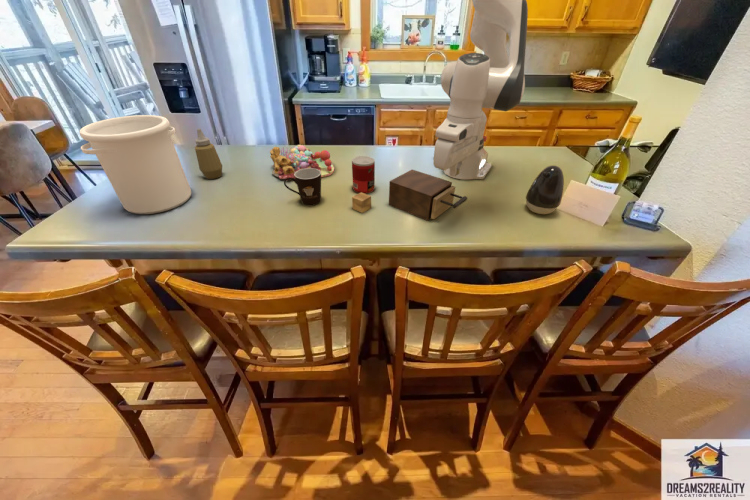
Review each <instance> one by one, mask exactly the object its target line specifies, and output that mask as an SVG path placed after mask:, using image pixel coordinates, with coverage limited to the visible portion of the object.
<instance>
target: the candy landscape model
mask: <svg viewBox="0 0 750 500" xmlns="http://www.w3.org/2000/svg"><path fill="white" fill-rule="evenodd" d="M288 151H289V152H288ZM269 153H270V159H271V160H272V162H273V165H271V167H272V168H273V170H272V172H271V174H272V175H273V176H274V177H277V178H279V180H285V179H286V178H294V179H295V176H294V173H295V172H296V171H298V170H301V169H305V168H314V169H318V170H320V171H321V178H325V177H329V176H331V175H333V174H334V172H335V166H334V164H333V161H332V160H331V153H330V152H329V151H328V150H326V149H323V150H321V151H315V152H313V151H311V149H310V148H308V147H306V146H305V145H304V144H302V145H301V144H297V145H296V146H293V147H291V146H290V147H289V150H288V148H286V150H285V148H284V147H282V148H280V147H278V146H273V148H271V149H270V151H269ZM313 153H314V154H313ZM290 180H291V179H289V180H287V181H286V182H289V181H290Z"/></svg>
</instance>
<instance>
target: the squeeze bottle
mask: <svg viewBox="0 0 750 500" xmlns="http://www.w3.org/2000/svg"><path fill="white" fill-rule="evenodd" d="M196 132H197V133H196V134H197V138H195V141H194V142H195V144H196V146H195V147H194V150H195V155H196V160H197V163H198V168H199V170H200V172H201V173H202V175H203V177H205V178H206V179H207V180H208V179H210V180H214V179H219V178H220V177H222V175H223V164H222V161H221V159H220V157H219V154H218V152H217V149H216V147H215V145H214V144H213V143H212V142H211V141H210V138H209V137H206V136H205V134H204V132H203V131H202V129H201V128H196Z"/></svg>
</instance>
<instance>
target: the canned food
mask: <svg viewBox="0 0 750 500" xmlns="http://www.w3.org/2000/svg"><path fill="white" fill-rule="evenodd" d="M375 163H376V162H375V159H374V158H373V157H371V156H365V155H364V156H363V155H360V156H356V157H353V158H352V159H351V174H352V175H351V176H352V189H353V191H354V192H355V193H357V194H359V193H361V192H362V193H364V194H370V193H372V192H374V190H375V184H376V183H375V179H376V177H375V175H376V174H375V173H376V172H375V171H376V167H375Z"/></svg>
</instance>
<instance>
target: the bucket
mask: <svg viewBox="0 0 750 500" xmlns="http://www.w3.org/2000/svg"><path fill="white" fill-rule="evenodd" d="M176 133H177V131H176V128H175V127H174V126H171V123H170V121H169V120H168V118H166V117H165V116H162V115H154V114H139V115H138V114H137V115H125V116H118V117H112V118H111V117H110V118H107V119H102V120H97V121H94V122H92V123H89V124H86V125H84V126H83V127H82V128H80V129H79V135H80V137H81V139H82V140H84V141H86V143H85V144H83V145H81V146H80V150H81V152H82V154H85V155H95V157H96V158H97V160H98V162H99V164H100V166H101V168H102V169H103V171H104V173H105V175H106V177H107V179H108V181H109V183H110V185H111V187H112V188H113V190H114V192H115V194H116V197H117V198H118V200H119V202H120V203H121V205H122V207H123V209H125V210H126V211H127V212H129V213H131V214H136V215H154V214H159V213H164V212H168V211H170V210H173V209H176V208H178V207H180V206H182V205H183V204H185V203H186V202H187V201H188V200H190V198H191V196H192V190H191V186H190V184H189V180H188V179H187V176H186V173H185V171H184V168H183V165H182V162H181V159H180V157H179V154H178V152H177V149H176V147H175V144H174V140H173V138H172V136H174V135H175V134H176Z"/></svg>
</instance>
